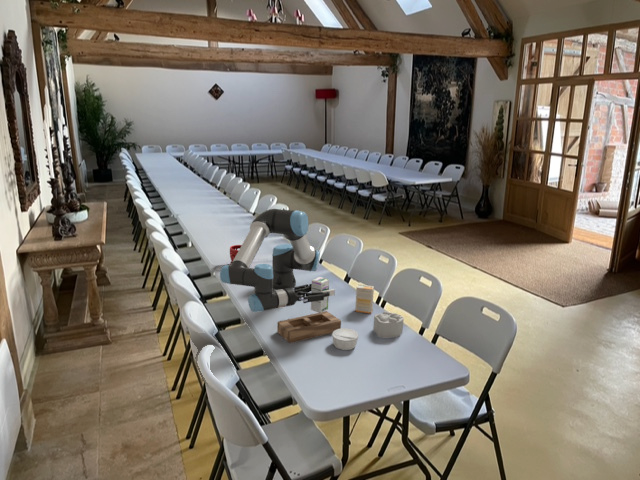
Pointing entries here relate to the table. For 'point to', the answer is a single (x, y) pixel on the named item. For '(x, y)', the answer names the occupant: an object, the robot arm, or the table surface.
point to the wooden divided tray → (308, 326)
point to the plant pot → (234, 251)
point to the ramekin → (345, 338)
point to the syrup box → (318, 286)
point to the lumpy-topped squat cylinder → (388, 324)
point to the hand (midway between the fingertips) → (329, 289)
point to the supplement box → (364, 298)
